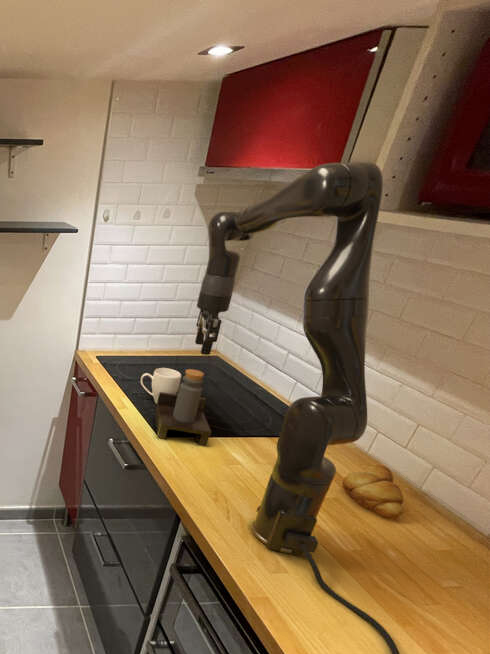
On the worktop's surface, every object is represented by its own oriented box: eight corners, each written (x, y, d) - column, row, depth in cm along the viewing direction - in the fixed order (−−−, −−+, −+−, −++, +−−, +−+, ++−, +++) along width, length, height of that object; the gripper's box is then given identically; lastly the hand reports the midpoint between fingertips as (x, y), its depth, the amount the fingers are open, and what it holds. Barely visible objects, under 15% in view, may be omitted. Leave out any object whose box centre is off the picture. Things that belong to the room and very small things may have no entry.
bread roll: (411, 525, 99) (427, 496, 96) (361, 518, 101) (375, 489, 98) (375, 489, 111) (388, 462, 108) (331, 483, 113) (342, 456, 110)
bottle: (196, 424, 129) (209, 377, 123) (175, 422, 130) (186, 375, 124) (191, 414, 134) (202, 369, 128) (170, 412, 135) (181, 367, 129)
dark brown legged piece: (207, 447, 127) (215, 419, 124) (158, 439, 131) (164, 412, 127) (198, 424, 139) (205, 398, 136) (153, 417, 143) (159, 391, 139)
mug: (173, 400, 155) (180, 370, 150) (175, 410, 148) (182, 379, 143) (137, 394, 159) (142, 364, 154) (136, 403, 152) (142, 373, 147)
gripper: (195, 285, 125) (183, 339, 131) (205, 296, 112) (191, 356, 118) (225, 287, 123) (211, 342, 129) (239, 299, 110) (223, 359, 116)
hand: (202, 349), depth 124 cm, fingers open, 8 cm apart
